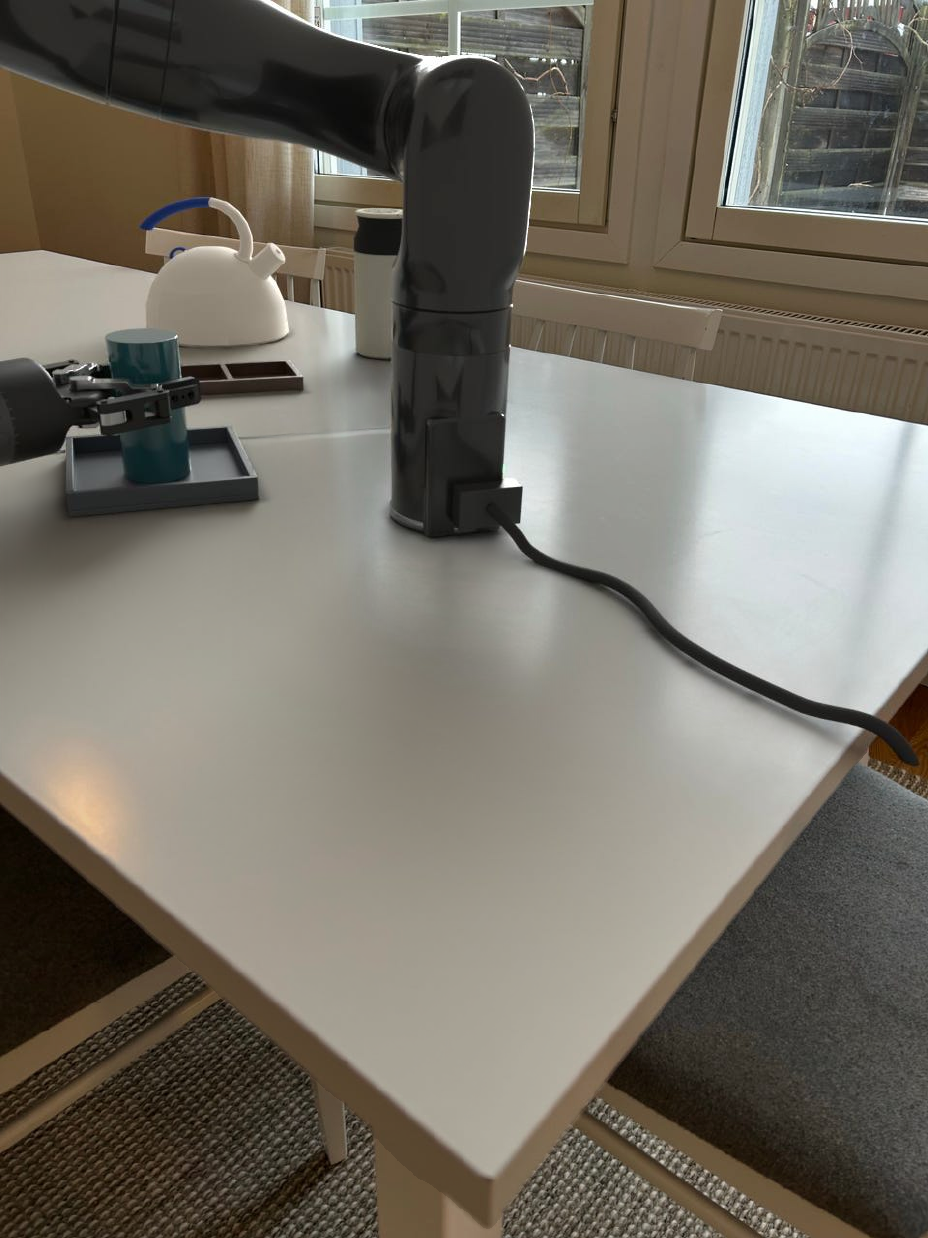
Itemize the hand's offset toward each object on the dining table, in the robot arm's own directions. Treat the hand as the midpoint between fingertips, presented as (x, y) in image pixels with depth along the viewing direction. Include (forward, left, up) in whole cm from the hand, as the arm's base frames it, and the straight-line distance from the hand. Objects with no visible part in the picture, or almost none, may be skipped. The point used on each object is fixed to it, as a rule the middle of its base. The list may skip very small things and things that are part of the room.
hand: (167, 379), depth 83 cm
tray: (-1, +2, -8) cm, 9 cm away
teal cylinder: (-1, +2, -8) cm, 8 cm away
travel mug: (+41, -31, -9) cm, 52 cm away
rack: (+28, -8, -8) cm, 30 cm away
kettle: (+58, -11, -9) cm, 60 cm away
